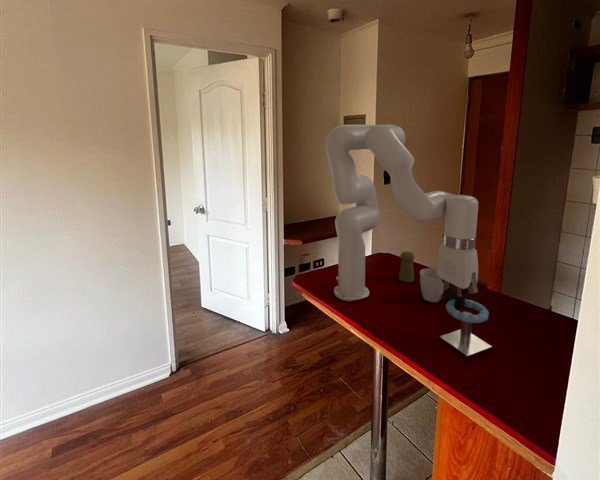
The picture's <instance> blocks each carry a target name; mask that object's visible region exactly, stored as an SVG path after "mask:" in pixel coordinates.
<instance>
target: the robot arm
mask: <svg viewBox="0 0 600 480" xmlns="http://www.w3.org/2000/svg"><path fill="white" fill-rule="evenodd" d="M406 138H407V137H406V133H405V132H404V130H403V129H402V127H401V126H398V125H396V124H341V125H339V126H336V127H334V128H333V129H331V131H330V132H329V133H328V135H327V137H326V139H325V140H326V141H325V152H326V156H327V160H328V163H329V167H330V173H331V179H332V186H333V192H334V196H335V199H336V201H337V202H338V203H339V205H340V204H341V205H352V204H355V206H352V207H347V208H344V209H343V210H341V211H340V212H339V213H337V215H336V217H335V221H334V225H335V231H336V235H337V236H336V237H337V261H338V262H337V266H338V267H337V272H338V273H337V276H336V277H335V280H336V281H337V285H336V286H335V287H334V289H333V294H334V296H335V298H337V299H339V300H341V301H345V302H353V301H357V300H362V299H365V298H368V297H369V296H370V289H368V287H366V243H365V241H364V238H363V236H362V235H363V233H366V232H369V231H372V230H374V229H375V228H376V227H377V226H378V224H379V222H380V208H379V202H378V197H377V190H376V186H375V184H374V182H373V181H372V179H371V177H368V176H367V175H363V174H359V175H358V173H357V171H356V164H355V161H354V158H353V157H352V155H351V154H350V151H358V150H359V151H360V150H361V151H362V150H369V151H370V152H371V153H372V154H373V156H374V157H375V158H376V160H377V161H378V162H379V163H380V165H381V166H382V167H383V168H384V170H385V171H386V172H387V174H388V175H389V176H390V177H389V178H390V184H391V187H392V191H393V194H394V197H395V199H396V200H397V202H398V203H399V205H401V207H402V209H404V211H405V213H407V214H408V215H409V216H410V217H411V219H413V220H415V221H416V222H419V223H429V222H433V221H435V220H437V219H442V218H444V232H443V233H442V234H441V236H442V237H443V242H441V244H440V246H439V249H438V253H437V259H436V268H435V269H436V274H437V276H438V277H439V278H440V279H442V282H443V284H444V290H445V298H444V299H445V300H444V301H445V302H444V303H445V305H446V304H447V303H448V301H449V300H452V299H455V303H454V305H455V307H454V308H455V309H456V310H458V311H459V310H461V309H464V308H465V307H466V306H465V299H467V298H466V296H468V295H475V294H478V293H479V289H478V285H477V284H478V282H479V281H478V280H479V259H478V258H479V257H478V252H477V251H478V250H477V249H476V241H477V240H476V239H477V226H478V214H479V201H478V199H477V198H476V197H474V196H471V195H466V194H454V193H450V192H447V191H442V190H433V191H429V192H424V191H423V190H422V188H421V187H420V186H419V185H418V183H417V182H416V180H415V179H414V176H413V166H414V164H415V162H416V161H415V160H416V159H415V157H414V156H413V154H412V153H411V152H410V151H409V149H407V148H406V146H405V144H406V141H407V140H406ZM455 287H456V288H455Z"/></svg>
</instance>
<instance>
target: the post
mask: <svg viewBox="0 0 600 480" xmlns="http://www.w3.org/2000/svg"><path fill="white" fill-rule="evenodd" d="M461 312H462V313H466V314H472V315H473V313H472V312H470V311H461ZM472 329H473V323H468V322H464V321H461V320H460V329H457V330H455V331H451V332H449V333H445V334H442V335H440V336H439V339H441V340H443V341H444V342H446V343H447V344H449V346H451V347H452V348H454V349H456V350H457V351H458V352H460V354H462V355H464V356H465V357H466V358H468V357H471V356H474V355H476V354H479V353H481V352H484V351H487V350H490V349H492V348H493V346H492V345H490V344H489V343H487V342H486V341H484V340H482V339H481V338H479V337H478V336H476V335H475V334H473V333H472V331H473V330H472Z"/></svg>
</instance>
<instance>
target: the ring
mask: <svg viewBox="0 0 600 480" xmlns="http://www.w3.org/2000/svg"><path fill="white" fill-rule="evenodd" d="M454 303H455V299H452V300H449V301H448V303H447V304H446V303H445V309H446V311H447V313H448V314H449V315H450V316H452V318H454V319H456V320H458V321H460V322H461V321H464V322H468V323H472V324H481V323H484V322H487V321H488V320H489V316H490V312H489V310H488V309H487V308H486V306H484V305H483V304H481V303H480V302H477V301H475V300H471V299H467V298H465V307H466V308H470V309H473V310H474V311H477V312H478V313H477V314H473V313H472V314H466V313H462V312H463V311H460V310H459V309H458V310H456V309H455V308H454V307H455V305H454Z"/></svg>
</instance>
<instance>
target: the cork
mask: <svg viewBox="0 0 600 480" xmlns="http://www.w3.org/2000/svg"><path fill="white" fill-rule="evenodd" d="M399 256H400V261H401V262H400V268H399V273H398V280H399V281H401V282H403V283H413V282H414V281H415V280H416V279H415V272H414V271H415V270H414V263H413V262H414V260H415V254H414V252H413V251H406V250H405V251H402V252H401V253H400V255H399Z"/></svg>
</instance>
